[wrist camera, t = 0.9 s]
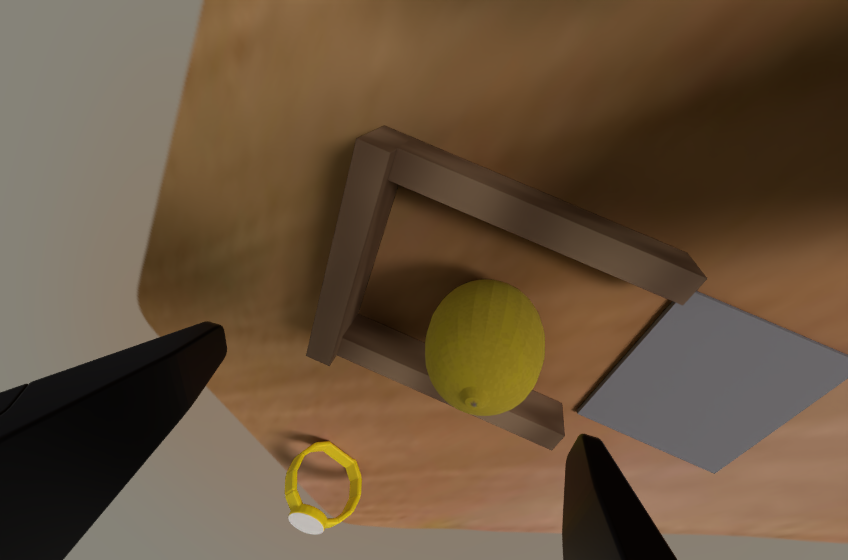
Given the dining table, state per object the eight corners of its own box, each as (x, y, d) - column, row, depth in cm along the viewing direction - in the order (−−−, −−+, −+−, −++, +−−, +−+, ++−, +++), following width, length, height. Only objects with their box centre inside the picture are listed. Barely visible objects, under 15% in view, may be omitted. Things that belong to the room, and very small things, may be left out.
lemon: (546, 337, 22) (551, 458, 16) (452, 338, 24) (420, 448, 17) (539, 249, 20) (542, 348, 13) (435, 257, 22) (390, 349, 15)
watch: (375, 463, 33) (351, 540, 28) (357, 474, 34) (331, 549, 29) (316, 426, 32) (280, 499, 27) (301, 439, 33) (264, 511, 28)
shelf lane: (687, 252, 18) (716, 290, 15) (550, 417, 25) (552, 465, 22) (384, 125, 19) (356, 138, 16) (332, 321, 26) (305, 355, 23)
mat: (861, 360, 19) (865, 364, 18) (712, 469, 24) (714, 473, 24) (685, 286, 19) (687, 289, 19) (577, 409, 24) (577, 413, 24)
